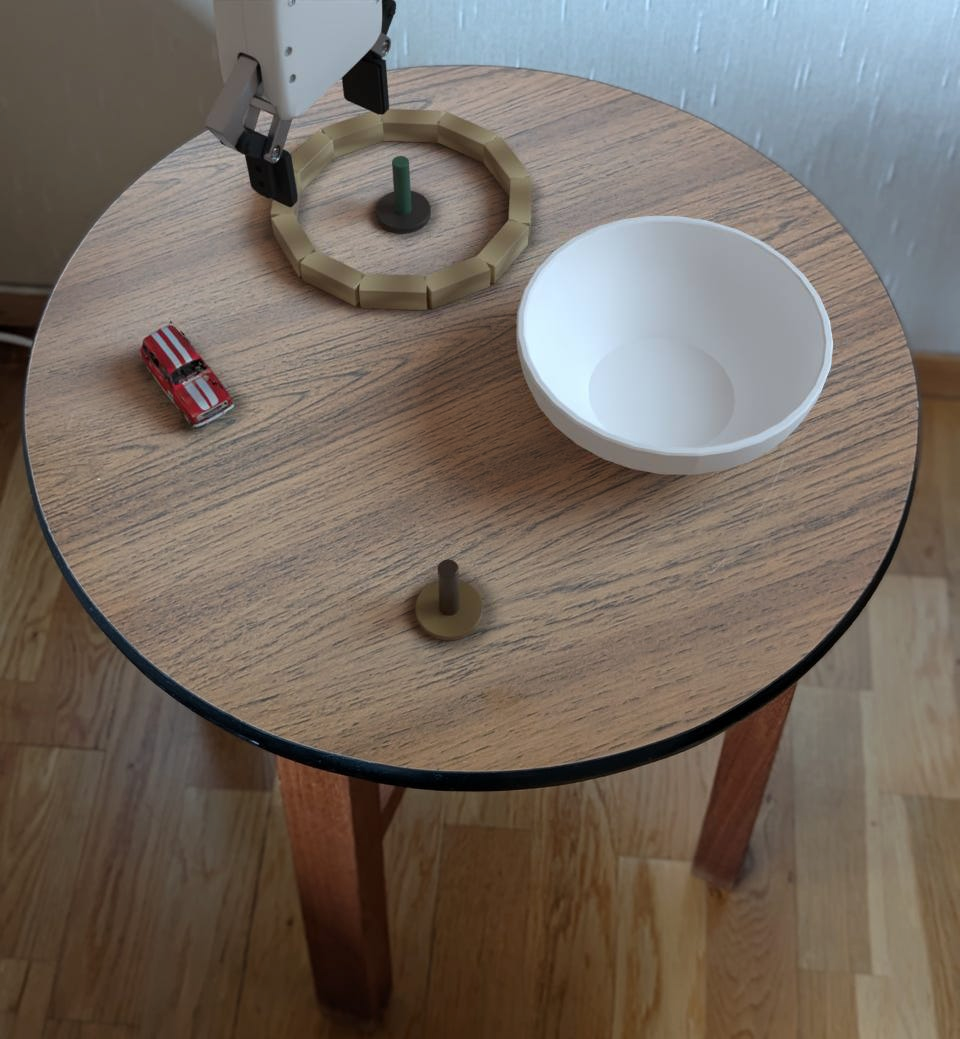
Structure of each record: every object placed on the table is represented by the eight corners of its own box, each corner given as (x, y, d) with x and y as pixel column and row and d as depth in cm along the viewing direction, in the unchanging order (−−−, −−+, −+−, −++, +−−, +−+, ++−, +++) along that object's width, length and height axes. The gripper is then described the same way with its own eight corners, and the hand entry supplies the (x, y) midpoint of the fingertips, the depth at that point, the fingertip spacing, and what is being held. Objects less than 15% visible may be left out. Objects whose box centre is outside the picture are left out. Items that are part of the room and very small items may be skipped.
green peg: (410, 241, 96) (408, 189, 92) (365, 219, 97) (360, 167, 93) (441, 208, 98) (440, 155, 94) (396, 187, 99) (393, 134, 95)
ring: (439, 348, 91) (439, 331, 89) (224, 241, 96) (220, 223, 95) (577, 187, 99) (578, 168, 98) (372, 97, 105) (370, 78, 103)
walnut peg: (459, 652, 78) (458, 610, 74) (402, 619, 79) (398, 577, 75) (495, 602, 80) (496, 558, 76) (439, 571, 81) (438, 526, 77)
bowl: (777, 282, 94) (798, 206, 88) (838, 512, 84) (866, 445, 78) (501, 296, 93) (503, 221, 87) (527, 531, 83) (531, 464, 77)
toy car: (194, 437, 87) (185, 407, 84) (136, 360, 90) (125, 328, 87) (242, 411, 88) (235, 380, 85) (182, 336, 91) (174, 304, 89)
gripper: (327, -204, 74) (353, 52, 89) (123, -42, 67) (187, 210, 81) (440, -163, 72) (447, 93, 87) (242, 10, 64) (287, 259, 79)
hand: (322, 149), depth 84 cm, fingers open, 9 cm apart
